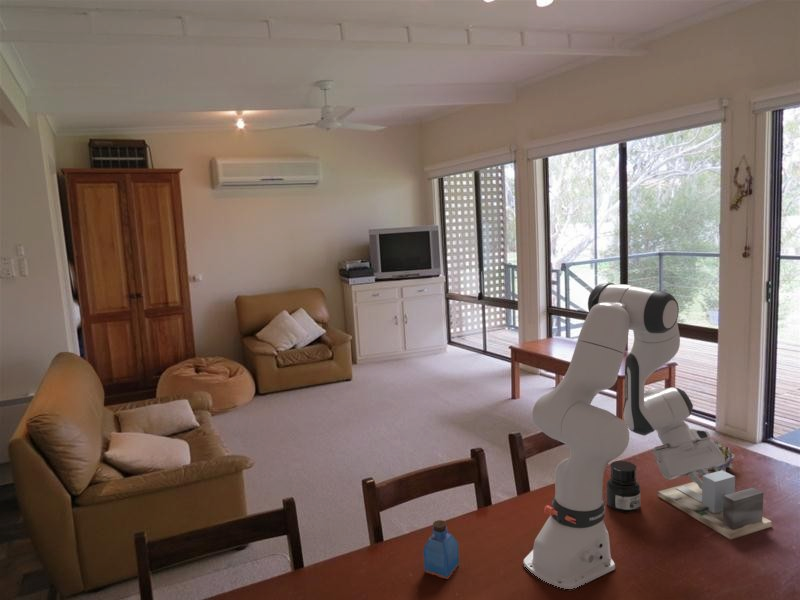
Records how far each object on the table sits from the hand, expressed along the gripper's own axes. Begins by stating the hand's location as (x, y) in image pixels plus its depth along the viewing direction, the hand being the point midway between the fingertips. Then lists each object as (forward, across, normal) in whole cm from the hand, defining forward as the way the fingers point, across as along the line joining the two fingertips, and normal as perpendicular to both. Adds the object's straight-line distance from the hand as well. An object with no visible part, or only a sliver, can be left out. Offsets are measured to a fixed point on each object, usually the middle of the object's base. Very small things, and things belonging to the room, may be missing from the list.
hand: (706, 487), depth 154 cm
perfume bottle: (+1, -78, +8) cm, 78 cm away
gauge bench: (+6, 0, +3) cm, 6 cm away
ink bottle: (-3, -19, +12) cm, 23 cm away
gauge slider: (+6, -2, -1) cm, 6 cm away
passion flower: (-7, +21, +16) cm, 27 cm away
